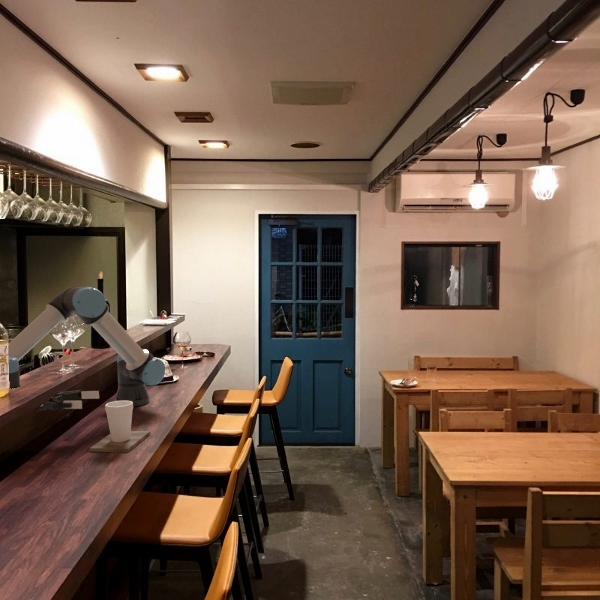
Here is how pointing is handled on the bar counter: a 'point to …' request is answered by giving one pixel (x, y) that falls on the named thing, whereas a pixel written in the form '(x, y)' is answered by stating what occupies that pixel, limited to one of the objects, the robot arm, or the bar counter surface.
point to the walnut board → (120, 443)
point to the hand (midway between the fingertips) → (90, 399)
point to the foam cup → (119, 419)
